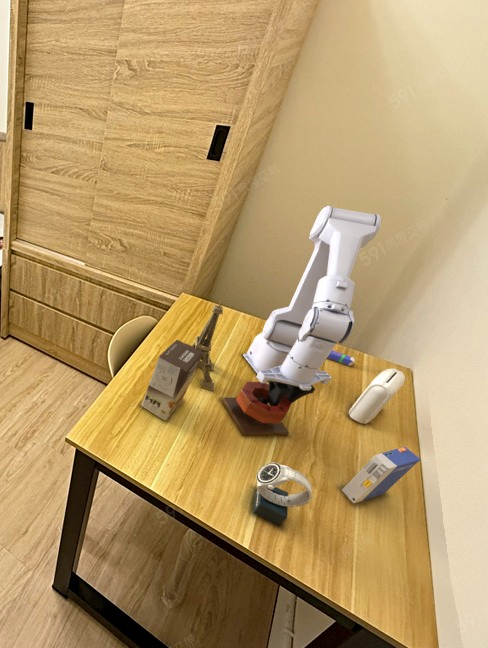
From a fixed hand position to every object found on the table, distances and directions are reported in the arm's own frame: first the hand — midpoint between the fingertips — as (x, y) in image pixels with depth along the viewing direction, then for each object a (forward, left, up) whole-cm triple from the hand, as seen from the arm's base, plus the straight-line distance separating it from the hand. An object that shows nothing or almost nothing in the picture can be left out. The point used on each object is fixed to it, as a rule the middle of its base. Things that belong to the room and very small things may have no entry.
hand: (277, 402), depth 91 cm
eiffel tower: (-15, -12, -5) cm, 20 cm away
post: (0, -4, -5) cm, 6 cm away
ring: (0, -3, -1) cm, 4 cm away
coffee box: (-4, -24, -5) cm, 25 cm away
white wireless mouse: (-2, +24, -5) cm, 25 cm away
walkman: (+18, +8, -5) cm, 21 cm away
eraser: (-20, +31, -5) cm, 37 cm away
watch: (+21, -13, -5) cm, 25 cm away
